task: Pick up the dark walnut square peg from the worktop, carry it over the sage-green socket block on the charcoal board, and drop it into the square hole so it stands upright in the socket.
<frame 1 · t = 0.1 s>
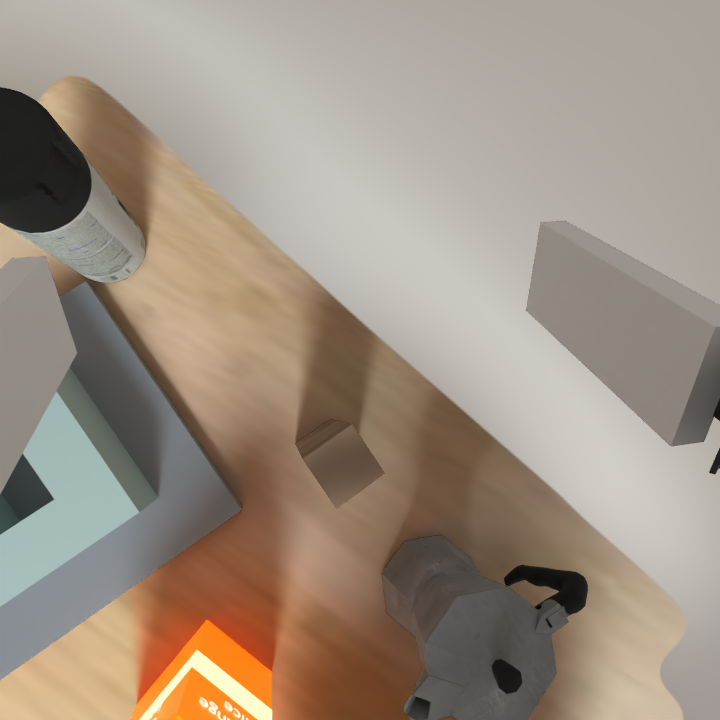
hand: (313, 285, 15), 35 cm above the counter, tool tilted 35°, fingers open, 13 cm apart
peg: (325, 449, 49), on the counter
orange juice: (205, 686, 46), on the counter
spray can: (109, 249, 48), on the counter
socket block: (44, 475, 46), on the counter
coffeepot: (436, 576, 50), on the counter
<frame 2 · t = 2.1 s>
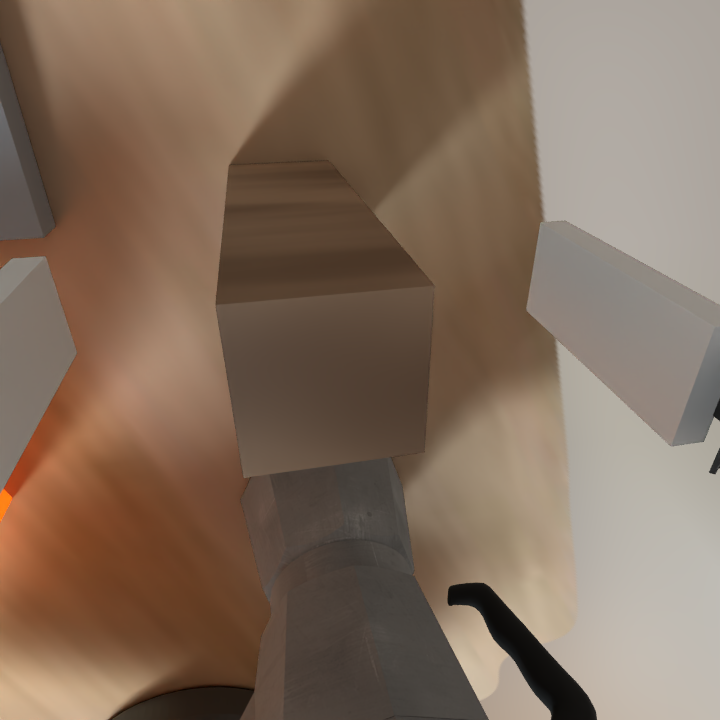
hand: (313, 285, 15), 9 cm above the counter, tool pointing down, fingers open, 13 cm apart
peg: (283, 212, 23), on the counter
coffeepot: (341, 484, 31), on the counter
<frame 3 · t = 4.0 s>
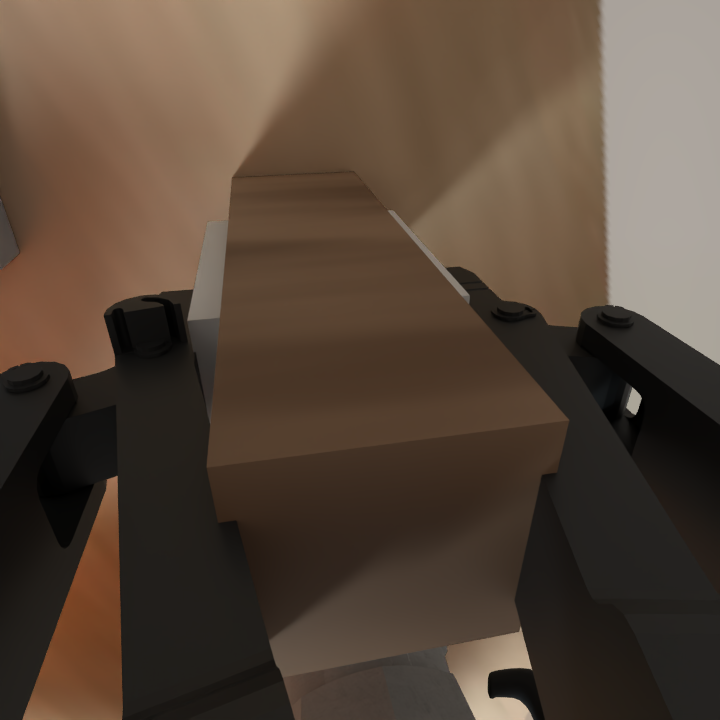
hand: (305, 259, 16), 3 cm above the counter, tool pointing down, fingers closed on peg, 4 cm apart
peg: (298, 233, 19), on the counter, touching gripper
coffeepot: (358, 536, 27), on the counter
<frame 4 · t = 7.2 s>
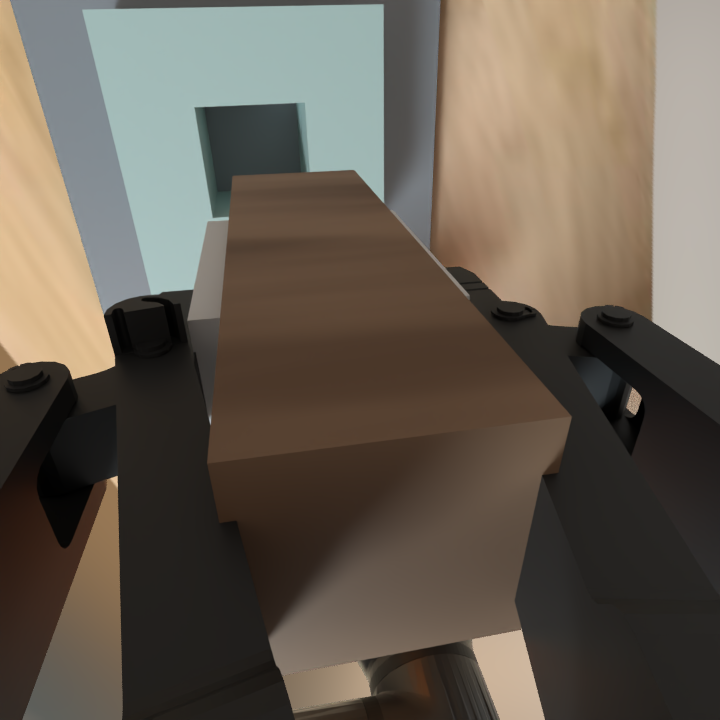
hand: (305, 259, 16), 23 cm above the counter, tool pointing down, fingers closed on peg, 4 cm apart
peg: (298, 232, 19), point 20 cm above the counter, touching gripper
socket block: (254, 140, 35), on the counter
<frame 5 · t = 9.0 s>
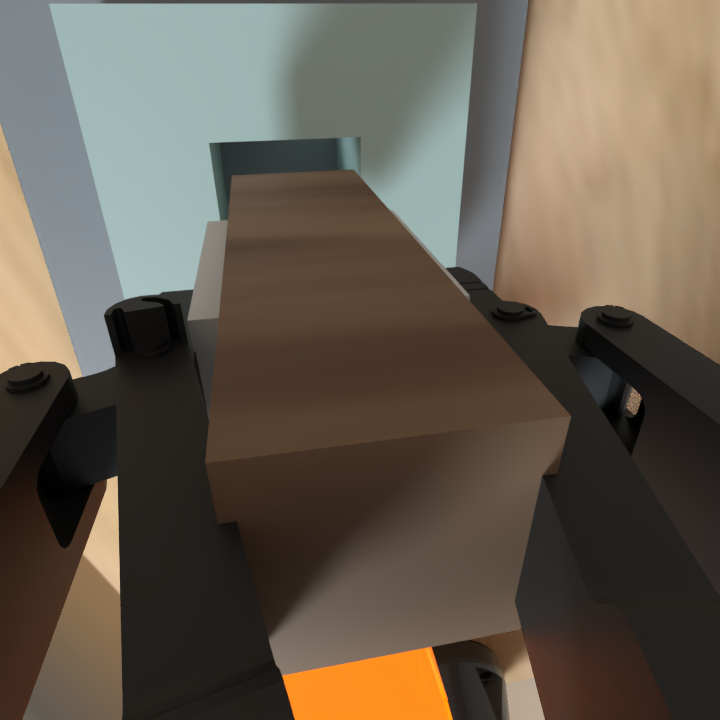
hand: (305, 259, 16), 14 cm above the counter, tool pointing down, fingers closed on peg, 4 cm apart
peg: (298, 232, 19), point 11 cm above the counter, touching gripper
orange juice: (320, 491, 40), on the counter
socket block: (280, 174, 28), on the counter
when the fingers open (11 cm above the counter, at t = 10.5 s): peg drops 7 cm, resting on socket block.
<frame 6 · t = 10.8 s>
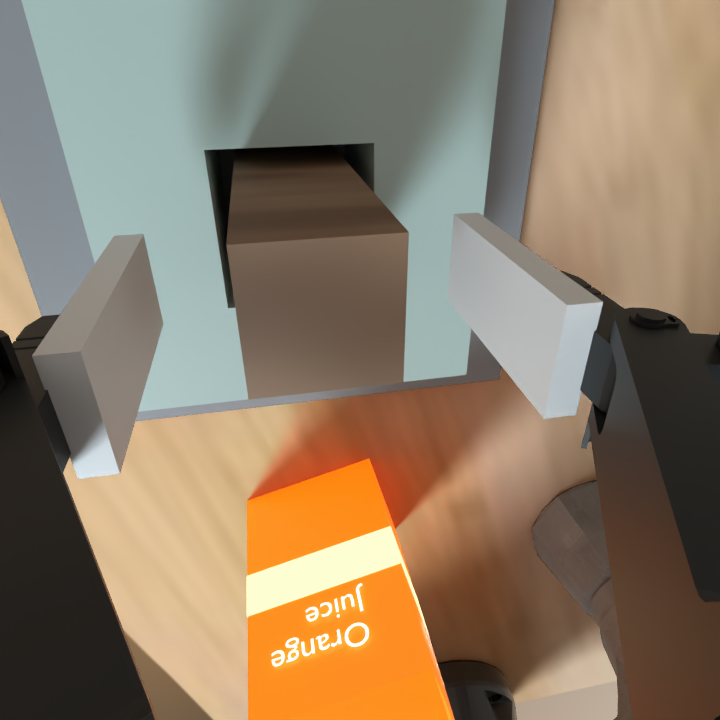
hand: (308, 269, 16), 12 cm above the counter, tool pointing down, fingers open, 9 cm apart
peg: (285, 187, 24), point 1 cm above the counter, touching socket block
orange juice: (324, 513, 38), on the counter
socket block: (283, 181, 26), on the counter
coffeepot: (592, 517, 44), on the counter
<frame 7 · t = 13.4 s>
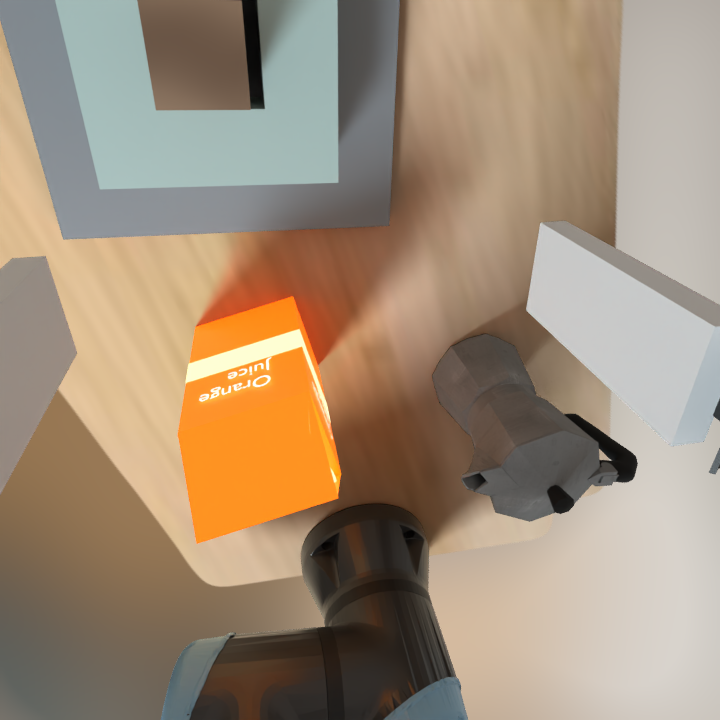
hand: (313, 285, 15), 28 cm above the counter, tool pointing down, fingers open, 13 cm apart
peg: (213, 46, 34), point 1 cm above the counter, touching socket block
orange juice: (259, 345, 48), on the counter
socket block: (214, 47, 35), on the counter
coffeepot: (484, 371, 54), on the counter
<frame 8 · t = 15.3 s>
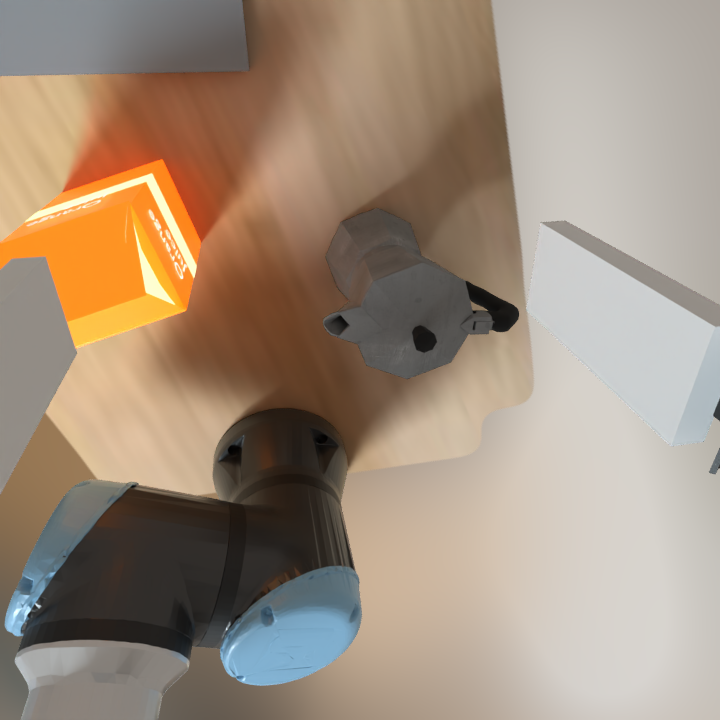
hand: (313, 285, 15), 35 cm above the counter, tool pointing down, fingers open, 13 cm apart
orange juice: (134, 217, 46), on the counter
coffeepot: (383, 254, 52), on the counter
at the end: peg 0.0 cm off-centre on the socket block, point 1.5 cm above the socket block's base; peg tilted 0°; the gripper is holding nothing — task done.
